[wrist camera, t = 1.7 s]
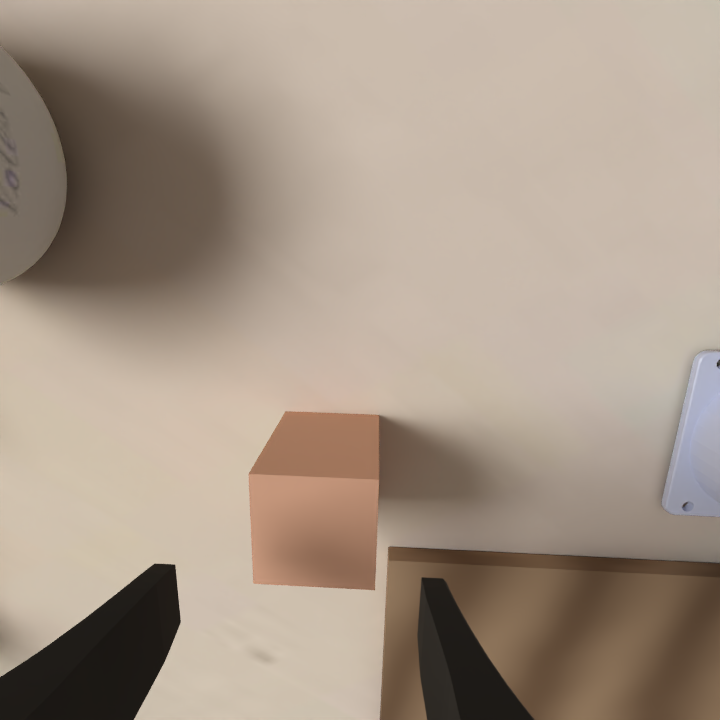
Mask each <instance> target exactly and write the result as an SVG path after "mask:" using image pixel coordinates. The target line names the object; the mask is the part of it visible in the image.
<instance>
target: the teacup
mask: <svg viewBox="0 0 720 720" xmlns="http://www.w3.org/2000/svg"><path fill="white" fill-rule="evenodd" d="M66 193H67V174H66V165H65V158H64V154H63V150H62V145H61V142H60V139H59V135H58V132H57V130H56V127H55V124H54V122H53V120H52V117H51V115H50V113H49V111H48V109H47V107H46V105H45V103H44V101H43V99H42V98H41V96H40V94H39V93H38V91H37V90H36V88H35V87H34V85H33V84H32V82H31V81H30V79H29V78H28V77H27V75H26V74H25V72H24V71H23V70H22V69H21V68H20V66H19V65H18V64H17V63H16V62H15V60H14V59H13V58H12V57H11V56H10V55H9V54H8V53H7V52H6V51H5V50H4V49H3V48H2V47H1V46H0V285H2V284H4V283H6V282H8V281H10V280H12V279H14V278H16V277H18V276H19V275H21V274H22V273H24V272H25V271H26V270H28V269H29V268H30V267H32V266H33V265H34V264H35V263H36V262H37V261H38V260H39V259H40V258H41V257H42V256H43V254H44V253H45V252H46V251H47V249H48V248H49V247H50V245H51V243H52V241H53V240H54V238H55V236H56V234H57V232H58V230H59V227H60V224H61V222H62V218H63V213H64V209H65V205H66Z"/></svg>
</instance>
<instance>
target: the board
mask: <svg viewBox="0 0 720 720" xmlns="http://www.w3.org/2000/svg"><path fill="white" fill-rule="evenodd" d="M421 577H426V578H443V579H444V580H445V581H446V582H447V585H448V587H449V589H450V591H451V593H452V595H453V597H454V599H455V601H456V603H457V605H458V607H459V609H460V611H461V612H462V614H463V616H464V618H465V620H466V621H467V623H468V625H469V627H470V628H471V630H472V632H473V633H474V635H475V636H476V638H477V640H478V641H479V643H480V645H481V646H482V648H483V649H484V651H485V652H486V654H487V656H488V657H489V659H490V660H491V662H492V663H493V665H494V666H495V667H496V669H497V670H498V672H499V673H500V675H501V676H502V678H503V679H504V680H505V682H506V683H507V685H508V686H509V687H510V689H511V690H512V691H513V693H514V694H515V695H516V697H517V698H518V699H519V701H520V702H521V703H522V704H523V706H524V707H525V708H526V710H527V711H528V712H529V713H530V715H531V716H532V717H533V718H534V719H535V720H720V564H719V563H699V562H679V561H659V560H639V559H619V558H599V557H579V556H560V555H540V554H520V553H500V552H480V551H460V550H440V549H420V548H400V547H388V566H387V587H386V608H385V628H384V649H383V669H382V690H381V710H380V720H427V716H426V710H425V703H424V697H423V691H422V685H421V678H420V667H419V653H418V638H417V632H418V619H419V605H420V591H421Z"/></svg>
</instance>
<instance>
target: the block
mask: <svg viewBox="0 0 720 720" xmlns="http://www.w3.org/2000/svg"><path fill="white" fill-rule="evenodd" d="M249 493H250V516H251V538H252V560H253V583H254V584H271V585H290V586H309V587H328V588H346V589H365V590H375V573H376V547H377V521H378V496H379V415H364V414H338V413H312V412H285V413H284V415H283V417H282V418H281V420H280V422H279V424H278V425H277V427H276V429H275V430H274V432H273V434H272V435H271V437H270V439H269V440H268V442H267V444H266V446H265V447H264V449H263V451H262V452H261V454H260V456H259V457H258V459H257V461H256V462H255V464H254V466H253V467H252V469H251V471H250V473H249Z"/></svg>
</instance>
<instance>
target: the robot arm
mask: <svg viewBox="0 0 720 720" xmlns="http://www.w3.org/2000/svg"><path fill="white" fill-rule="evenodd" d="M718 360H720V351H715V350H706V351H702V352H700V353H698V354H697V355H696V357H695V359H694V361H693V365H692V370H691V374H690V378H689V383H688V387H687V392H686V396H685V400H684V405H683V409H682V414H681V418H680V422H679V427H678V431H677V436H676V440H675V445H674V449H673V453H672V458H671V462H670V467H669V471H668V475H667V480H666V484H665V489H664V493H663V497H662V507H663V508H664V509H665V510H666V511H667V512H668V513H670V514H673V515H688V516H709V517H720V365H719V366H718V367H717V362H718ZM686 502H688V503H687V505H685V506H683V504H684V503H686ZM682 506H683V507H682ZM180 622H181V620H180V610H179V600H178V589H177V579H176V569H175V565H171V564H154V565H152V566H151V567H150V568H148V569H147V570H146V571H145V572H143V573H142V574H141V575H139V576H138V577H137V578H136V579H134V580H133V581H132V582H131V583H130V584H128V585H127V586H126V587H125V588H123V589H122V590H121V591H120V592H118V593H117V594H116V595H115V596H113V597H112V598H111V599H109V600H108V601H107V602H106V603H104V604H103V605H102V606H101V607H99V608H98V609H97V610H95V611H94V612H93V613H92V614H90V615H89V616H88V617H86V618H85V619H84V620H82V621H81V622H80V623H78V624H77V625H76V626H74V627H73V628H71V629H70V630H69V631H67V632H66V633H65V634H63V635H62V636H61V637H59V638H58V639H56V640H55V641H54V642H52V643H51V644H50V645H48V646H47V647H45V648H44V649H42V650H41V651H40V652H38V653H37V654H35V655H34V656H32V657H31V658H29V659H28V660H26V661H25V662H23V663H22V664H20V665H19V666H17V667H15V668H14V669H12V670H11V671H9V672H8V673H6V674H4V675H3V676H1V677H0V720H134V718H135V716H136V714H137V713H138V711H139V709H140V707H141V705H142V703H143V701H144V700H145V698H146V696H147V694H148V692H149V690H150V688H151V686H152V685H153V683H154V681H155V679H156V677H157V675H158V673H159V671H160V669H161V668H162V666H163V664H164V662H165V660H166V657H167V655H168V652H169V650H170V648H171V645H172V643H173V640H174V638H175V635H176V633H177V630H178V627H179V625H180ZM417 638H418V653H419V667H420V678H421V685H422V691H423V697H424V703H425V710H426V716H427V720H535V719H534V718H533V717H532V716H531V715H530V713H529V712H528V711H527V710H526V708H525V707H524V706H523V704H522V703H521V702H520V701H519V699H518V698H517V697H516V695H515V694H514V693H513V691H512V690H511V689H510V687H509V686H508V685H507V683H506V682H505V680H504V679H503V678H502V676H501V675H500V673H499V672H498V670H497V669H496V667H495V666H494V665H493V663H492V662H491V660H490V659H489V657H488V656H487V654H486V652H485V651H484V649H483V648H482V646H481V645H480V643H479V641H478V640H477V638H476V636H475V635H474V633H473V632H472V630H471V628H470V627H469V625H468V623H467V621H466V620H465V618H464V616H463V614H462V612H461V611H460V609H459V607H458V605H457V603H456V601H455V599H454V597H453V595H452V593H451V591H450V589H449V587H448V585H447V582H446V581H445V580H444V579H443V578H426V577H421V591H420V605H419V619H418V632H417Z"/></svg>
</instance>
